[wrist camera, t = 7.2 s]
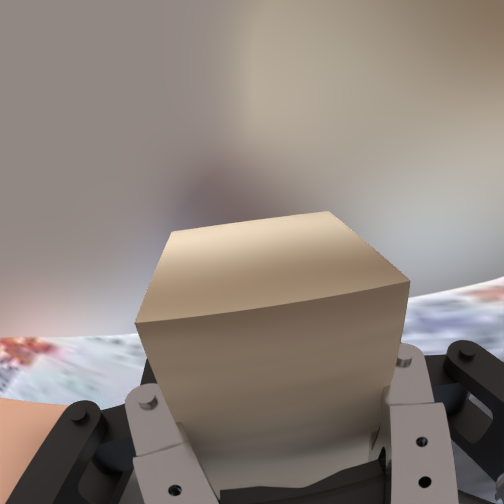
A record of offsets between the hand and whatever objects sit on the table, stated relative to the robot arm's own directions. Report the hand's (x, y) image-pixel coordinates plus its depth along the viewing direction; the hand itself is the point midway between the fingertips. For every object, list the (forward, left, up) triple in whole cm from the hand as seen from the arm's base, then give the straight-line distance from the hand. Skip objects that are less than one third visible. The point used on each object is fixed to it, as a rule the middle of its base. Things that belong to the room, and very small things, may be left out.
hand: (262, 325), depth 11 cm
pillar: (+1, +2, -6) cm, 7 cm away
